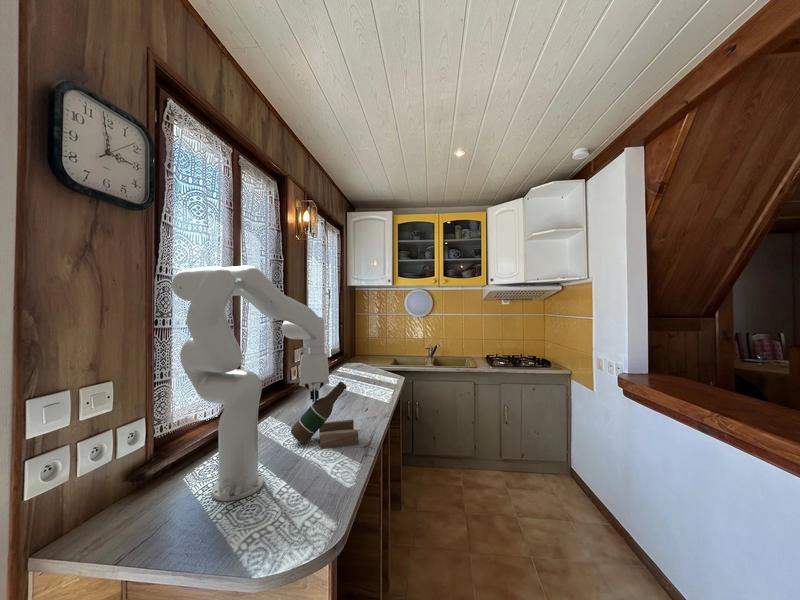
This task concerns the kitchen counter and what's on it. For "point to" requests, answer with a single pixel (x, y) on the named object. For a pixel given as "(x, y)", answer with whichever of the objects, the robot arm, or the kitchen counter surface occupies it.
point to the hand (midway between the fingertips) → (314, 401)
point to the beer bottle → (316, 415)
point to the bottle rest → (338, 434)
